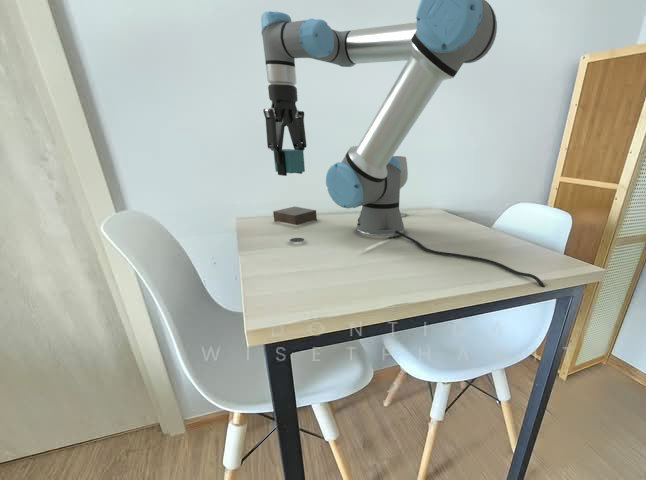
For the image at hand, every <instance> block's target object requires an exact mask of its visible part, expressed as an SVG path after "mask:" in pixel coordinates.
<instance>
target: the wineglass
mask: <svg viewBox="0 0 646 480" xmlns="http://www.w3.org/2000/svg"><path fill="white" fill-rule="evenodd" d="M392 157H395V158H398V159H399V160H400V169H401V173H400V190H401V189H402V188H403V187H405V185H406V183H407V181H408V177H409V174H408V173H409V172H408V161H407V157H406V156H401V155H393V156H392ZM400 213H401V217H402V218H403V217H406V214H405V213H404V212H400Z"/></svg>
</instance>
